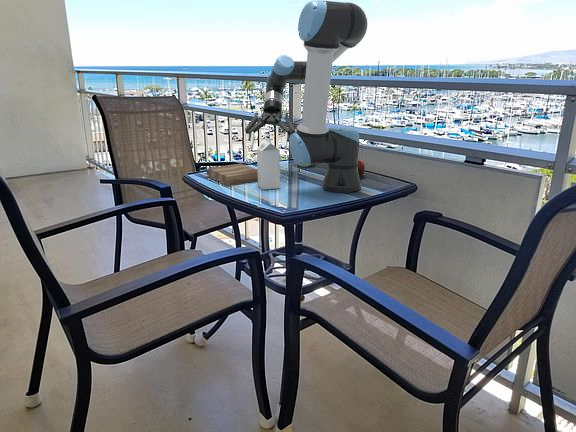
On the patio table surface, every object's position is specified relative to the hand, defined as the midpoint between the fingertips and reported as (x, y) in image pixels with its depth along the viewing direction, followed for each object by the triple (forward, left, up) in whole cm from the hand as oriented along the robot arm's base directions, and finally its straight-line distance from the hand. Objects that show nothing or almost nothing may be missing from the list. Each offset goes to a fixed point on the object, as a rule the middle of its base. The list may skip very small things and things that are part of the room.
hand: (268, 147), depth 165 cm
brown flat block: (+14, +8, -15) cm, 22 cm away
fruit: (-12, -36, -15) cm, 41 cm away
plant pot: (+18, -32, -15) cm, 40 cm away
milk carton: (-5, +3, -15) cm, 16 cm away
